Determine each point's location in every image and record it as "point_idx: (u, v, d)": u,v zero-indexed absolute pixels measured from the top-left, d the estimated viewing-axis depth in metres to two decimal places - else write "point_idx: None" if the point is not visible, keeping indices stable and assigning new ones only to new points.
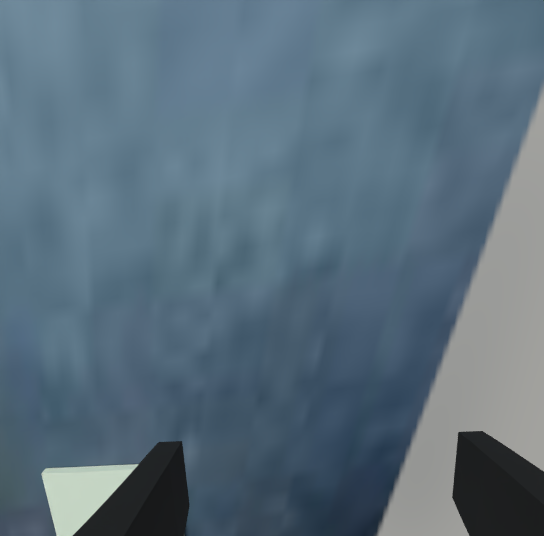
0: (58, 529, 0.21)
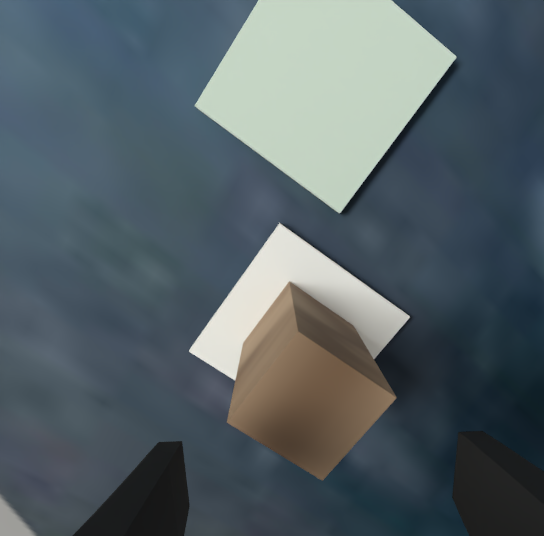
0: (277, 161, 0.15)
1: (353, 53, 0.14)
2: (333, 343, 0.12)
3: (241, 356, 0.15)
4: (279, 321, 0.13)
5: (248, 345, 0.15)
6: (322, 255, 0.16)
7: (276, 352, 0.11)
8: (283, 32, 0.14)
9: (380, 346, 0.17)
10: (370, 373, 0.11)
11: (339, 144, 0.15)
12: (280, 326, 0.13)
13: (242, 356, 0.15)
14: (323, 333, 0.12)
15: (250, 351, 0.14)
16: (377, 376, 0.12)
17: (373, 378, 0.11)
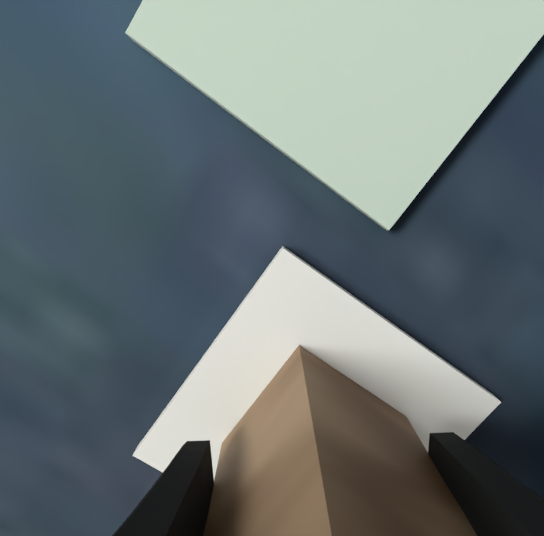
0: (279, 137, 0.08)
1: None
2: None
3: (215, 485, 0.09)
4: (284, 457, 0.06)
5: (227, 464, 0.09)
6: (356, 302, 0.09)
7: None
8: None
9: None
10: None
11: (392, 106, 0.08)
12: (286, 481, 0.06)
13: (216, 488, 0.08)
14: (385, 513, 0.05)
15: (228, 492, 0.08)
16: None
17: None
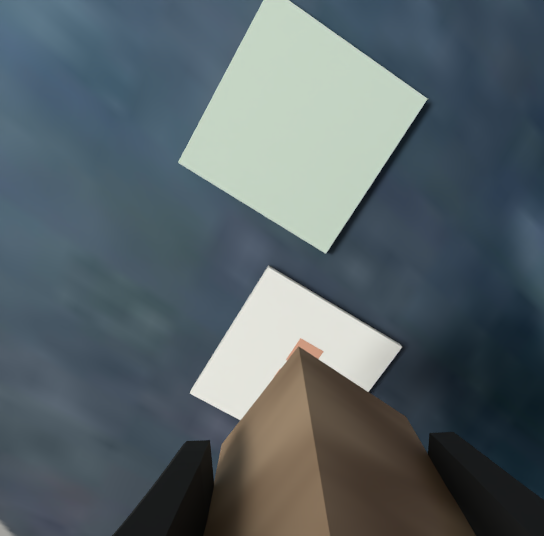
0: (261, 208, 0.16)
1: (327, 103, 0.15)
2: None
3: (215, 486, 0.09)
4: (283, 459, 0.06)
5: (227, 465, 0.09)
6: (312, 294, 0.16)
7: None
8: (258, 88, 0.14)
9: (375, 377, 0.17)
10: None
11: (320, 189, 0.15)
12: (286, 483, 0.06)
13: (216, 489, 0.08)
14: (383, 515, 0.05)
15: (228, 494, 0.08)
16: None
17: None
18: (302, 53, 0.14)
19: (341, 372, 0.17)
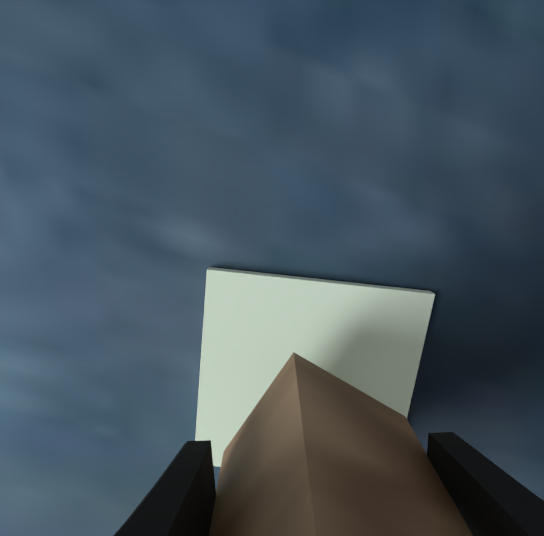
0: None
1: (322, 346, 0.12)
2: None
3: (217, 495, 0.09)
4: (277, 471, 0.07)
5: (228, 474, 0.09)
6: None
7: None
8: (241, 364, 0.12)
9: None
10: None
11: None
12: (279, 497, 0.06)
13: (218, 498, 0.09)
14: (376, 526, 0.05)
15: (229, 504, 0.08)
16: None
17: None
18: (272, 313, 0.12)
19: None
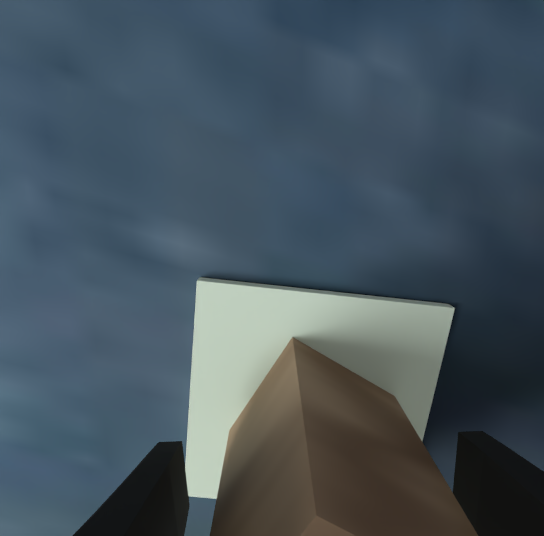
0: None
1: None
2: (384, 494, 0.06)
3: (224, 465, 0.10)
4: (278, 431, 0.08)
5: (234, 446, 0.10)
6: None
7: None
8: (236, 386, 0.11)
9: None
10: None
11: None
12: (280, 450, 0.07)
13: (225, 467, 0.10)
14: (362, 469, 0.06)
15: (235, 468, 0.09)
16: None
17: None
18: (271, 329, 0.11)
19: None
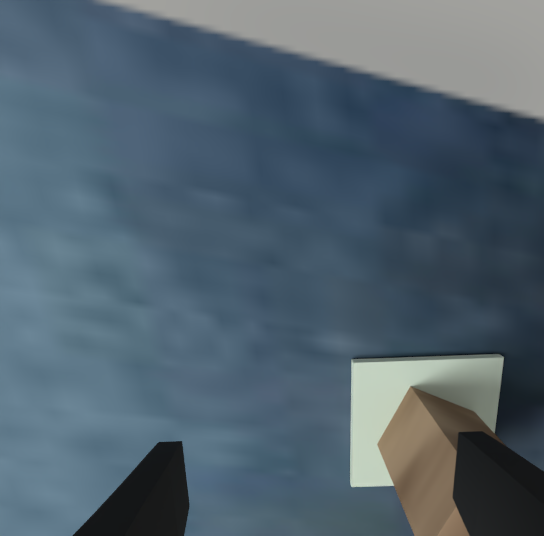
0: None
1: None
2: None
3: (387, 465, 0.17)
4: (430, 444, 0.15)
5: (390, 453, 0.17)
6: None
7: None
8: (379, 418, 0.19)
9: None
10: None
11: None
12: (437, 453, 0.15)
13: (389, 466, 0.17)
14: None
15: (401, 465, 0.16)
16: None
17: None
18: (397, 383, 0.18)
19: None
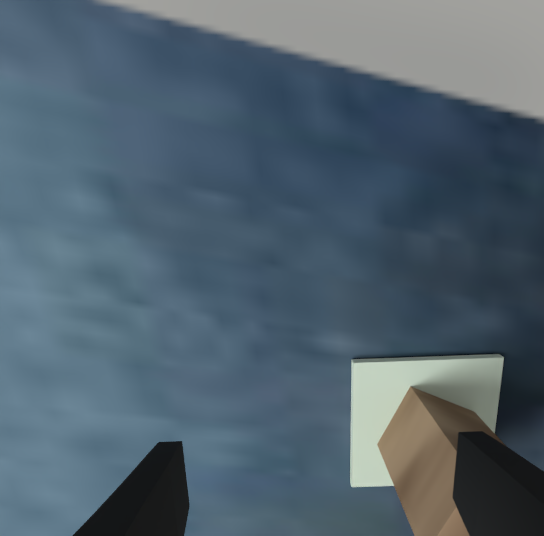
0: None
1: None
2: None
3: (387, 465, 0.17)
4: (430, 444, 0.15)
5: (391, 453, 0.17)
6: None
7: None
8: (379, 418, 0.19)
9: None
10: None
11: None
12: (437, 453, 0.15)
13: (389, 466, 0.17)
14: None
15: (401, 465, 0.16)
16: None
17: None
18: (397, 383, 0.18)
19: None
